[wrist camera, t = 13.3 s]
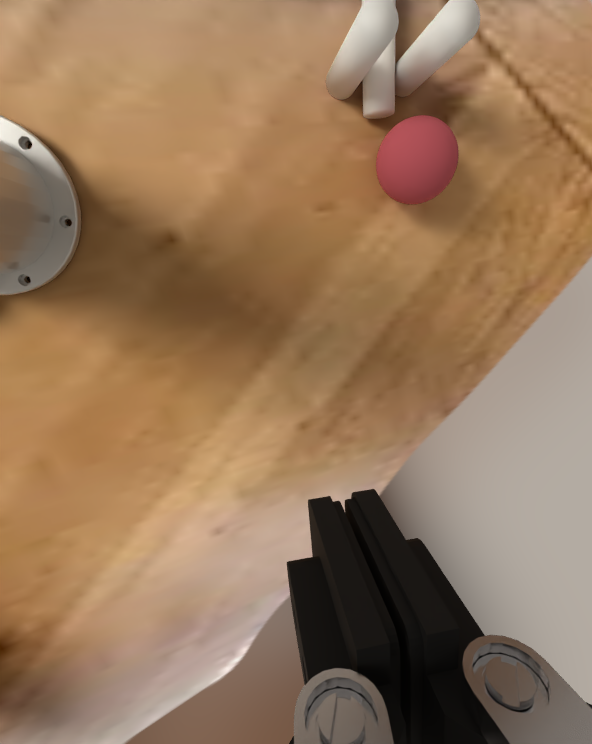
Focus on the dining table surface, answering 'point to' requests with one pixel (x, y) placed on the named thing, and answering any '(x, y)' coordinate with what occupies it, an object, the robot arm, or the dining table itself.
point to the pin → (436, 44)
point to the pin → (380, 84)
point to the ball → (417, 159)
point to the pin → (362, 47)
